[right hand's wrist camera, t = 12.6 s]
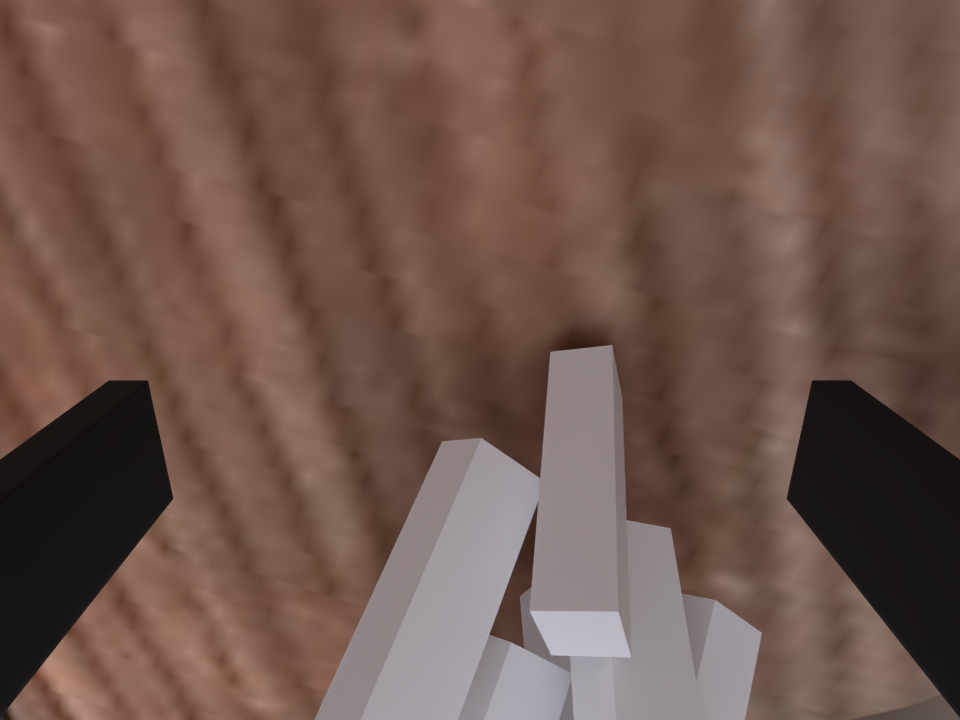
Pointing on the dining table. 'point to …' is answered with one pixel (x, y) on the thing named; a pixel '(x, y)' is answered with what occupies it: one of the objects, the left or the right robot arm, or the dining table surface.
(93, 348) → the dining table surface
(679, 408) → the dining table surface
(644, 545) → the pile of blocks
